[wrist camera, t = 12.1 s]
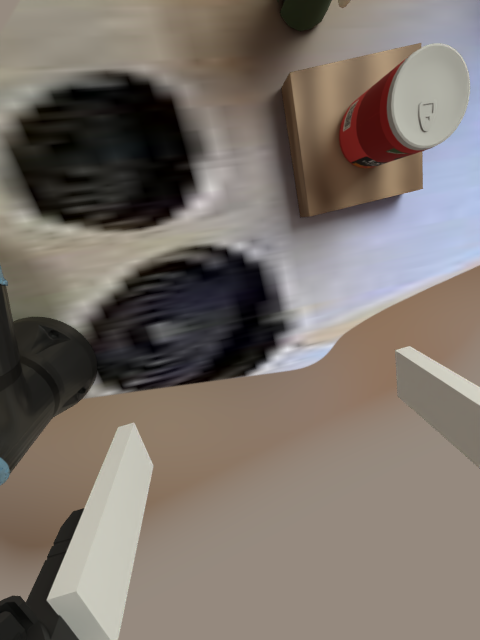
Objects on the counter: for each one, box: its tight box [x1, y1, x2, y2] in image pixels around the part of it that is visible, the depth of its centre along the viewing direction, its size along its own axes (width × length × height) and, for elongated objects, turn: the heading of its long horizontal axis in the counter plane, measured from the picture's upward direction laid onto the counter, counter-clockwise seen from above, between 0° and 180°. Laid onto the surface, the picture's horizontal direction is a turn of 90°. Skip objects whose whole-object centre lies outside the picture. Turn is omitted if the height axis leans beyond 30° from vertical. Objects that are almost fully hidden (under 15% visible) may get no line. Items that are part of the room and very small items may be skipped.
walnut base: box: [281, 43, 423, 217], centre depth 38 cm, size 16×16×4 cm
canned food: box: [339, 44, 470, 168], centre depth 31 cm, size 8×8×11 cm
